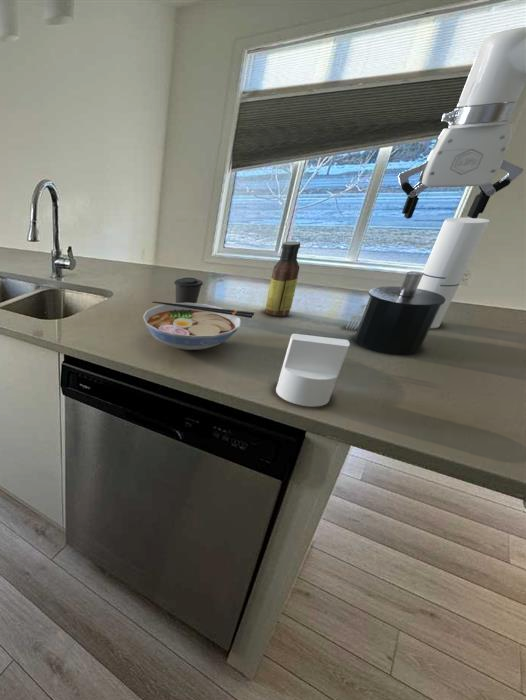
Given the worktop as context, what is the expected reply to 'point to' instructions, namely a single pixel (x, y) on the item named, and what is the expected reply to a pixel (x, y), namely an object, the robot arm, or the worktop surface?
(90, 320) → the worktop surface
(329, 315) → the worktop surface
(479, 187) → the robot arm
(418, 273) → the tin lid
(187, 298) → the coffee cup
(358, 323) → the fork
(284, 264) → the sauce bottle
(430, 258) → the cylindrical container
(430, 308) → the cup
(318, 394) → the base with upright slab
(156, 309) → the ramen bowl
